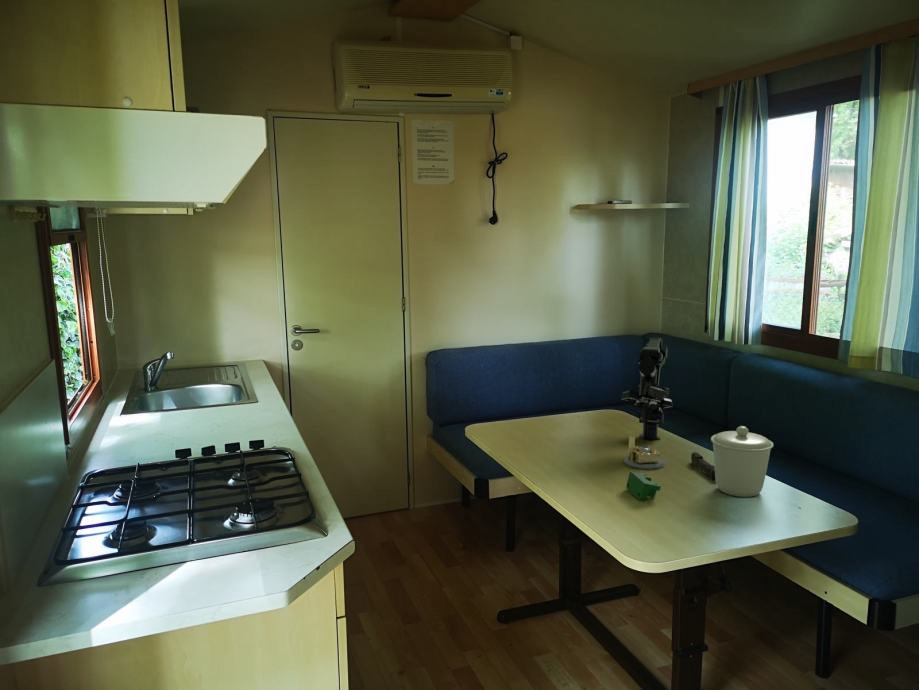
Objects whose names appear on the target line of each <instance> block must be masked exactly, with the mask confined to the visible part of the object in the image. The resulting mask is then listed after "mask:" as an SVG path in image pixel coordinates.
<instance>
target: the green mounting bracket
mask: <svg viewBox="0 0 919 690" xmlns="http://www.w3.org/2000/svg"><path fill="white" fill-rule="evenodd" d="M652 479H653V478H652V477H651V476H650V475H647V474H646V473H641V472H635V471H629V475H628V478H627V482H626V490H627V491H628V492H629V493H630V494H632V495H633V496H634V497H635V498H636V499H637V500H641V501H646V500H647V499H648V498H653V497H655V498H656V494H657V491H661V487H662V485H661V484H660V483H658V482H653V481H652Z"/></svg>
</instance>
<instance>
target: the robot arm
mask: <svg viewBox="0 0 919 690" xmlns="http://www.w3.org/2000/svg"><path fill="white" fill-rule="evenodd" d="M667 358H668V345H667V344H666V343H665V342H663V339H662V338H661V337H650V338H648V342H647V343H646V345H645V347H643V348H642V349H641V350H640V351H639V356H638V361H637V363H638V371H639V373H640V382H639V383H638V385H637V386H638V387H639V392H638V391H633V390H626V391H623V392H622V393H621V397H620V400H623V401H630V400H636V401H635V402H634V405H635V406H636V408H637V411H638V417H639V418H638V419H639V420H638V422H639V424H642V433H640V434H639V436H640V437H641V438H642V439H643V440H649V441H651V440H650V439H660V440H661V438H660V437H659V435H658V433H659V430H658V429H659V426H660V425H661V426H662V425H663V424H664V412H663V410H662V409H667V408H668V409H669V408H673V401H672V399H670V398H669V396H670V388H669V387H662V388H659V385H660V376H661V374H660V373H661V368H662V367H663V366H664V365H665V363H666V359H667Z"/></svg>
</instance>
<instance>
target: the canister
mask: <svg viewBox="0 0 919 690" xmlns="http://www.w3.org/2000/svg"><path fill="white" fill-rule="evenodd" d="M710 440H711V442H712V447H713V466H714V468H715V479H716V481H715V484H716V486H717V488H718V489H719V491H721V492H722V493H724V494H727V495H729V496H734V497H739V498H750V497H755V496H757V495H760V493H761V492H762V490H763V487H764V485H765V484H764V483H765V479H766V476H767V470H768V467H769V466H768V465H769V460H770V454H771V450H772V448H774V442H773V441H771V440H770V439H768V438H767V437H765V436H763V435H761V434H757V433H754V432H749V428H747V426H743V425H740V426H738V427H736V430H727V431H722V432H718V433H716V434H713V435H712V436H711V437H710Z"/></svg>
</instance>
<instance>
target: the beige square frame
mask: <svg viewBox="0 0 919 690" xmlns="http://www.w3.org/2000/svg"><path fill="white" fill-rule="evenodd" d="M635 441H636V436H635V435H629V436H628V452H627V454H628V455H627V456H628V460H629V461H634V460H635V461H636V462H637V463H652V462H660V458H661V453H660V452H659V451H658V450H657V449H655V448H652V447H651V445H648V444H647V445H645V447H649V448H650V453H644V450H640V451H639V448H640V447H639V446H638V445H637V446H636V444H635Z"/></svg>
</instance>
